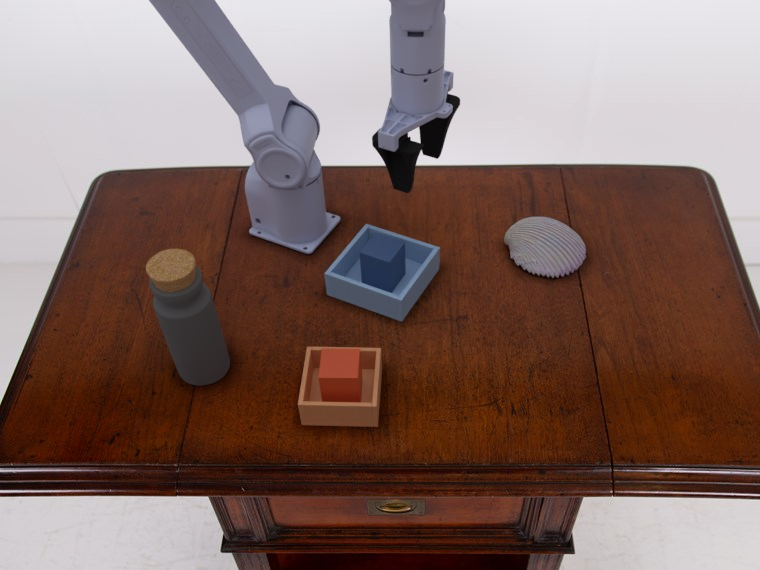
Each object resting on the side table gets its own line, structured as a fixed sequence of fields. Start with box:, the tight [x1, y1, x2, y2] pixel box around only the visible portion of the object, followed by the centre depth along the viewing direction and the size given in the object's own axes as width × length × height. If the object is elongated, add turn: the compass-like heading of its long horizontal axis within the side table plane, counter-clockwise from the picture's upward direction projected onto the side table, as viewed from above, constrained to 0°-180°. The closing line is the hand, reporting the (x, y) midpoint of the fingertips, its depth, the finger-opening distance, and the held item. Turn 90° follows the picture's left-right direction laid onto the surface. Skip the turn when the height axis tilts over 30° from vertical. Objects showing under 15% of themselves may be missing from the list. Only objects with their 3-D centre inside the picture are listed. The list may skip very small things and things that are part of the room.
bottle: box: [145, 248, 231, 387], centre depth 79 cm, size 6×6×15 cm
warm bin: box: [297, 346, 383, 428], centre depth 80 cm, size 8×8×4 cm
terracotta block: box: [318, 348, 363, 403], centre depth 79 cm, size 4×4×5 cm
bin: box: [323, 223, 441, 323], centre depth 91 cm, size 10×10×4 cm
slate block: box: [360, 233, 406, 293], centre depth 90 cm, size 4×4×5 cm
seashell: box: [503, 216, 587, 279], centre depth 94 cm, size 10×6×10 cm
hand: (417, 172), depth 91 cm, fingers open, 7 cm apart
